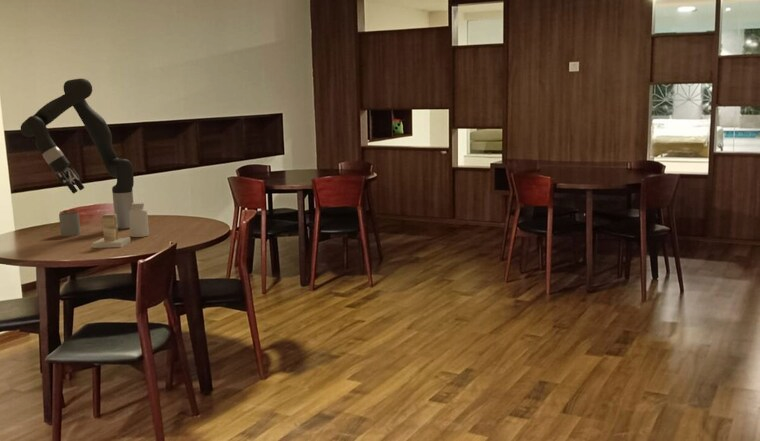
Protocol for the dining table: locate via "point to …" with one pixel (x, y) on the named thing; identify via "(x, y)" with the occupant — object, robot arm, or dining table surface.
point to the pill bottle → (138, 220)
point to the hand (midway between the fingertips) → (79, 190)
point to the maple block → (110, 227)
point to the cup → (69, 224)
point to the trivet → (111, 243)
